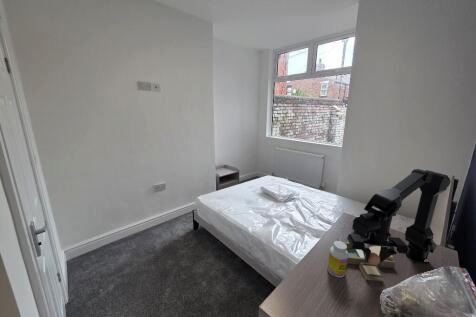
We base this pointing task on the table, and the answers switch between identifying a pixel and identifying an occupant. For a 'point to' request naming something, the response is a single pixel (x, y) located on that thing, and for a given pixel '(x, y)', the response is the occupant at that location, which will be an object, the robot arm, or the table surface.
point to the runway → (358, 257)
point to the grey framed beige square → (371, 272)
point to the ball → (374, 259)
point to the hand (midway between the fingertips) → (372, 261)
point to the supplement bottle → (338, 259)
